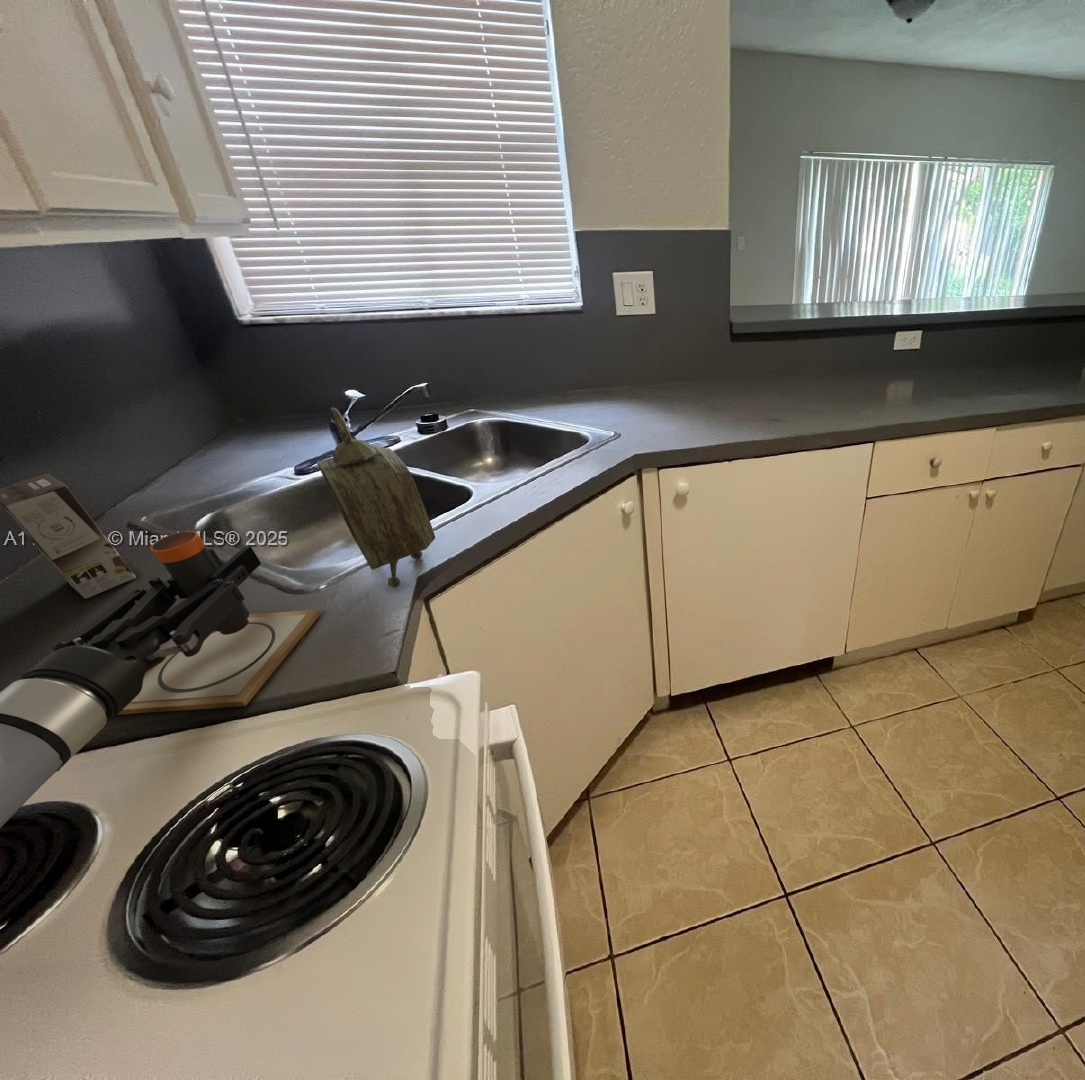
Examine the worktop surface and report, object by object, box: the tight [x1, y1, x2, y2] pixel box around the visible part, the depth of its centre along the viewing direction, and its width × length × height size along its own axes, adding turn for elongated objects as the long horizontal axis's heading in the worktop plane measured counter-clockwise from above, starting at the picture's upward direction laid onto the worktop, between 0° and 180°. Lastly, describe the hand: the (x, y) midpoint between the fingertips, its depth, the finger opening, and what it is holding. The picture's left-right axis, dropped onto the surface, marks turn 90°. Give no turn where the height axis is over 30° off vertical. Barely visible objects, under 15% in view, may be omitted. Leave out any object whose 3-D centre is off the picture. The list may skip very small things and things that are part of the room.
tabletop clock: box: [316, 407, 436, 589], centre depth 80 cm, size 14×9×25 cm, turn 41°
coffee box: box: [0, 473, 137, 600], centre depth 83 cm, size 9×6×16 cm
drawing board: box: [117, 609, 322, 716], centre depth 71 cm, size 16×16×1 cm
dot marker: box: [150, 530, 250, 635], centre depth 67 cm, size 4×4×13 cm
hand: (234, 556), depth 71 cm, fingers closed on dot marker, 4 cm apart
